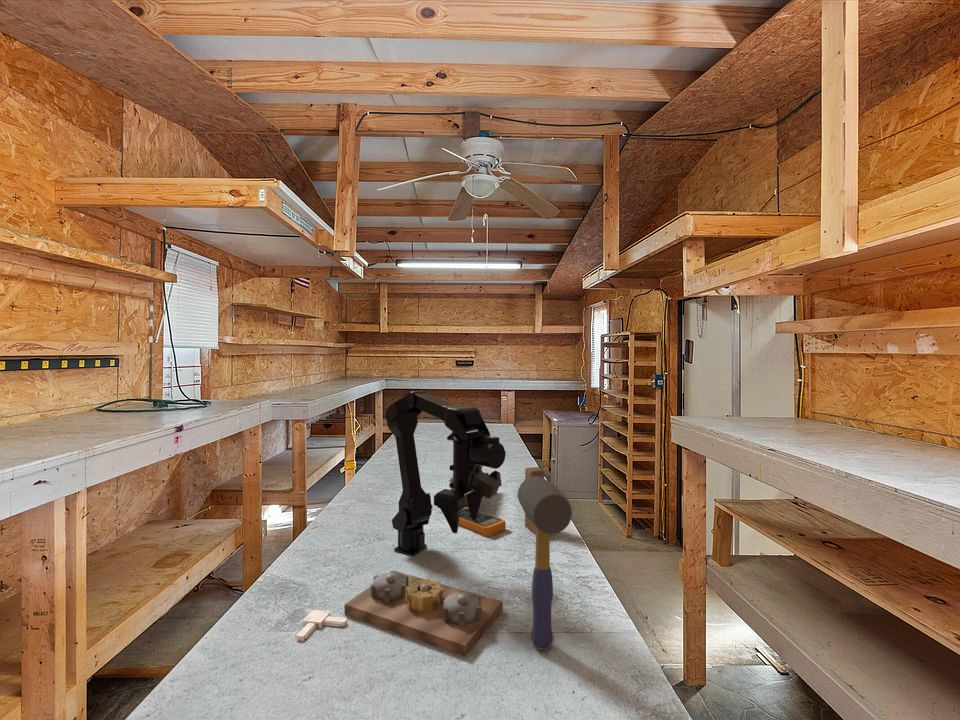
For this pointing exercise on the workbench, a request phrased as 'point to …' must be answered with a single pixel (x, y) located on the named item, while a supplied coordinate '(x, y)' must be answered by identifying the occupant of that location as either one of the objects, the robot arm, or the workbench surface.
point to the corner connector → (319, 622)
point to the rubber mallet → (543, 548)
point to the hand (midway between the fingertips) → (464, 526)
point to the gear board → (426, 613)
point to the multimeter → (481, 523)
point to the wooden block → (528, 473)
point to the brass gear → (424, 596)
